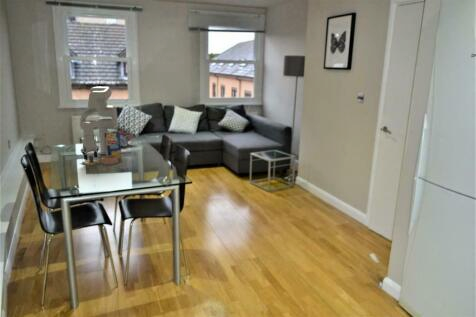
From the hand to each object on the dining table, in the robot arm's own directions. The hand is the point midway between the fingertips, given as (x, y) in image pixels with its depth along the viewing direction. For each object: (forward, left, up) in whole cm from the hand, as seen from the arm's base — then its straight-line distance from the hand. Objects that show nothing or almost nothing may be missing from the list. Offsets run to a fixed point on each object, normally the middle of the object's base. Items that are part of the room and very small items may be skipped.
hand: (90, 158), depth 298 cm
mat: (0, 0, -4) cm, 4 cm away
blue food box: (-22, +2, -5) cm, 23 cm away
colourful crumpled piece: (-64, -32, -5) cm, 72 cm away
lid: (0, 0, -4) cm, 4 cm away
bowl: (-8, +12, -4) cm, 15 cm away
